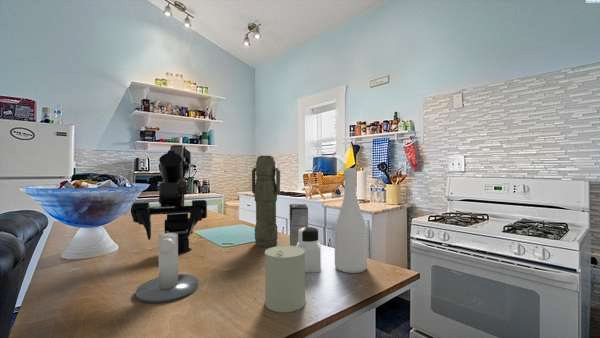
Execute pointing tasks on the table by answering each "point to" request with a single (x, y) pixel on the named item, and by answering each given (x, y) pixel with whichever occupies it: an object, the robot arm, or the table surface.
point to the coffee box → (297, 221)
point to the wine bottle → (350, 230)
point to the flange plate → (166, 290)
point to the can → (285, 278)
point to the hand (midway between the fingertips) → (169, 237)
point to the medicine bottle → (310, 248)
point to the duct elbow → (168, 260)
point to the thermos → (266, 201)
